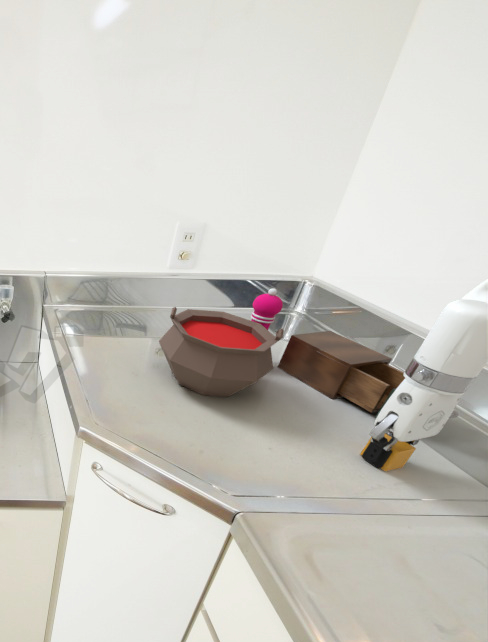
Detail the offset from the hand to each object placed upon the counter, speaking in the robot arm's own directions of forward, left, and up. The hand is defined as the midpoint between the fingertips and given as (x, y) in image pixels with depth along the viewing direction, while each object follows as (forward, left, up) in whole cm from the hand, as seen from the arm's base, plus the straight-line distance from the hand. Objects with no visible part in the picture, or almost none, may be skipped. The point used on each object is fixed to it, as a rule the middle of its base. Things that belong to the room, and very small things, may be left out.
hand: (381, 459), depth 77 cm
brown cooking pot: (+13, -31, -1) cm, 34 cm away
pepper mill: (-4, -36, -1) cm, 36 cm away
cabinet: (-17, -25, 0) cm, 30 cm away
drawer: (-17, -12, +1) cm, 21 cm away
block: (0, 0, 0) cm, 0 cm away
